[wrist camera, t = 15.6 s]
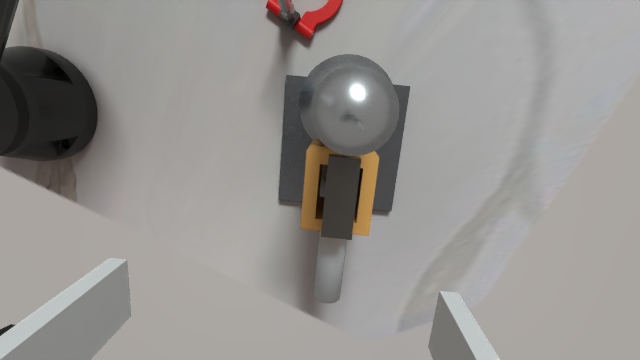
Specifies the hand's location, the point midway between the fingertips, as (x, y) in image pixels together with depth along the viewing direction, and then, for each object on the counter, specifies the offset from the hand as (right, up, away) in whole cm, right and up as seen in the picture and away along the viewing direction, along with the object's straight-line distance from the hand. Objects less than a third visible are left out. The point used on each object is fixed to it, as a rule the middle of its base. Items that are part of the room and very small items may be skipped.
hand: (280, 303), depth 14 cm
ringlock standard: (+5, +11, +31) cm, 33 cm away
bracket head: (+4, +1, +28) cm, 28 cm away
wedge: (+4, +7, +30) cm, 31 cm away
